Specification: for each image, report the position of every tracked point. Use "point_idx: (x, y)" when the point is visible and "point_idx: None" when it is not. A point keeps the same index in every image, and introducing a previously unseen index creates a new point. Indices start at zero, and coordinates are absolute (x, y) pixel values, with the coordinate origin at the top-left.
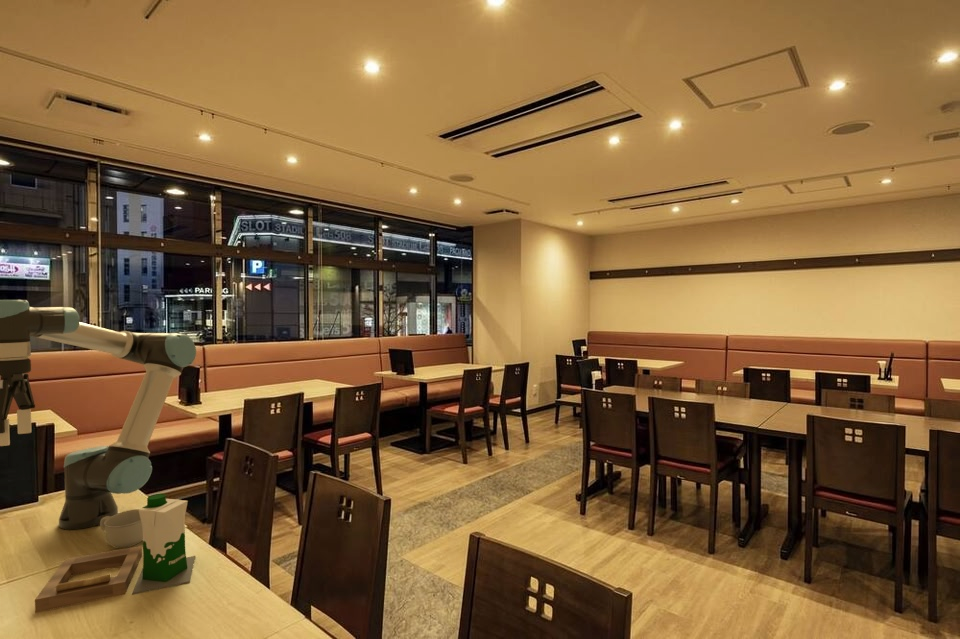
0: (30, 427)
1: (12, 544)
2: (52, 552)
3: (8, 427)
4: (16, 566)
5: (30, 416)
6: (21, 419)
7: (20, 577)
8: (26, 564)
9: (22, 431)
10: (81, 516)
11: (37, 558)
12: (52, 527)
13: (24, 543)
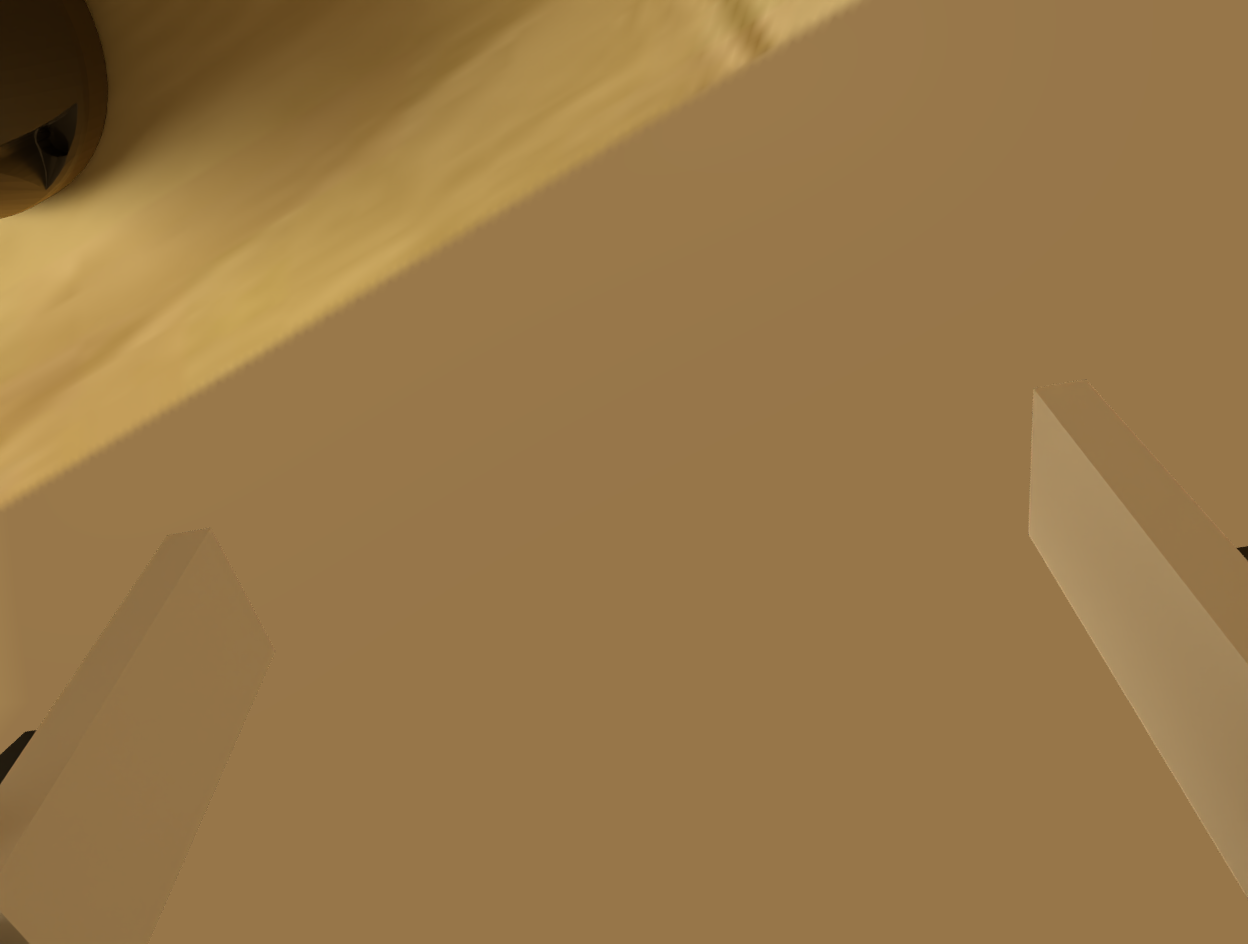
0: (165, 589)
1: (295, 312)
2: (429, 11)
3: (1225, 574)
4: (578, 124)
5: (50, 749)
6: (165, 803)
7: (727, 16)
8: (565, 81)
9: (239, 631)
10: (36, 28)
11: (498, 60)
12: (71, 225)
13: (287, 257)
